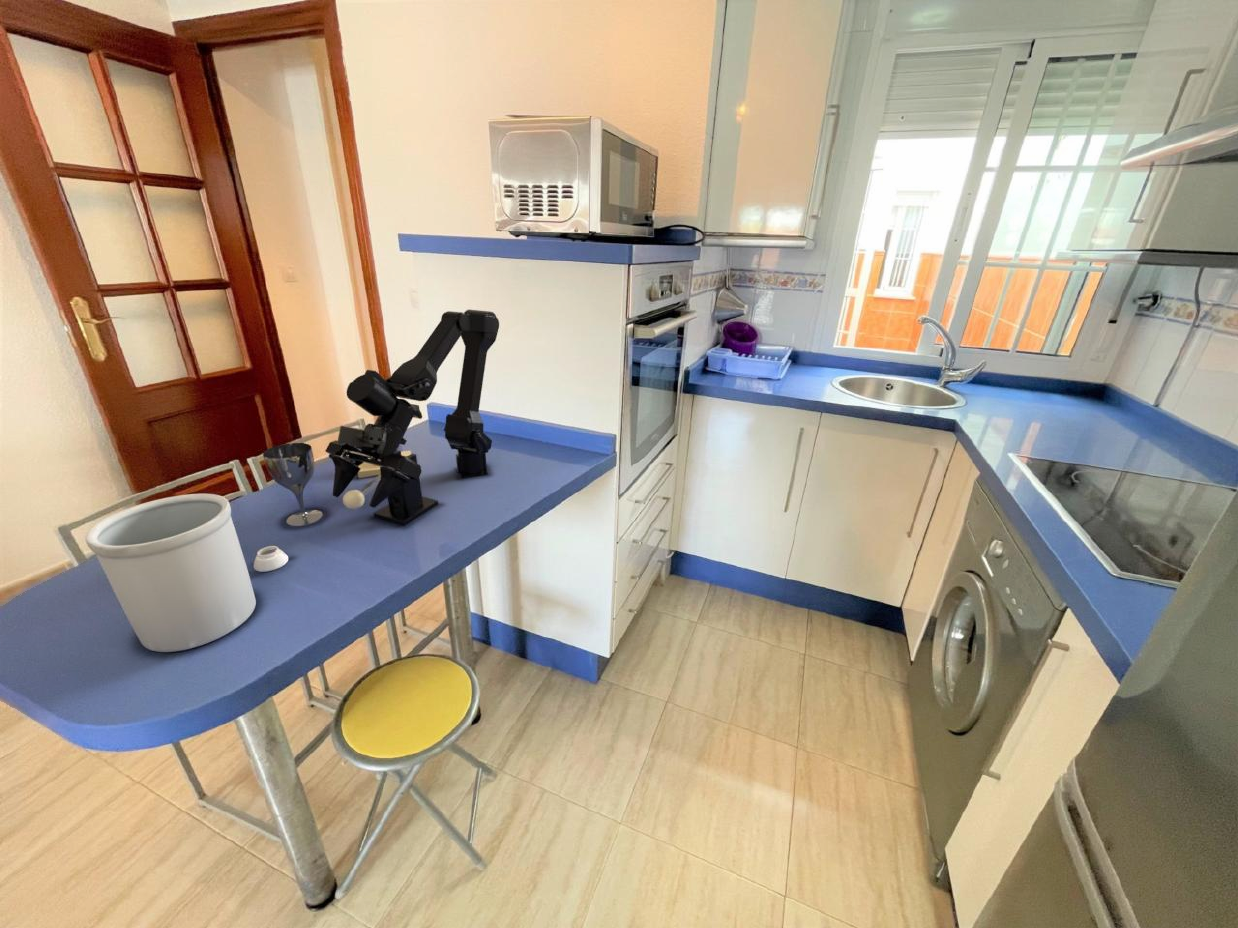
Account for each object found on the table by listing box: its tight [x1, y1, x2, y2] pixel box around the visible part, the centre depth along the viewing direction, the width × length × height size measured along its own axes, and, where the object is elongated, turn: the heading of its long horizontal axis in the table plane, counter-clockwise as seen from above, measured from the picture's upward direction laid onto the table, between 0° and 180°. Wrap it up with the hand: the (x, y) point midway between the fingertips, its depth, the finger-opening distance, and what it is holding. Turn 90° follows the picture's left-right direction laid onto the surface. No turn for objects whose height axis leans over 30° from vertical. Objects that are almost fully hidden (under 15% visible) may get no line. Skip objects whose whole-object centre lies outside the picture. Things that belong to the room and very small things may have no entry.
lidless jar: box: [252, 545, 289, 573], centre depth 87 cm, size 5×3×5 cm
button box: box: [357, 450, 412, 479], centre depth 125 cm, size 12×10×4 cm
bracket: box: [373, 449, 439, 527], centre depth 103 cm, size 10×8×13 cm
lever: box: [342, 468, 389, 510], centre depth 97 cm, size 15×4×4 cm, turn 158°
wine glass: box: [262, 442, 323, 527], centre depth 99 cm, size 8×8×15 cm
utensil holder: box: [84, 493, 257, 653], centre depth 71 cm, size 15×15×18 cm
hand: (353, 501), depth 93 cm, fingers open, 9 cm apart
